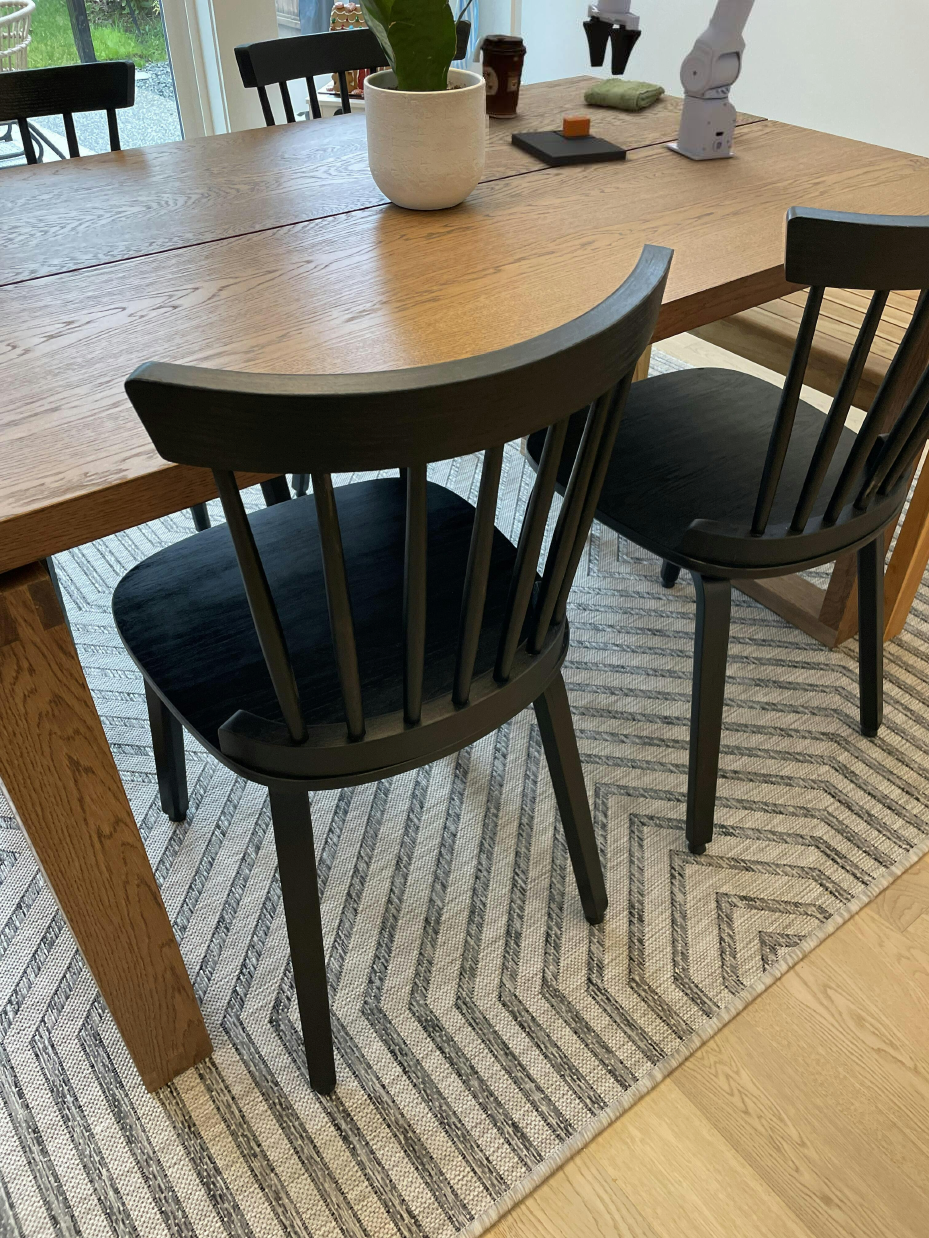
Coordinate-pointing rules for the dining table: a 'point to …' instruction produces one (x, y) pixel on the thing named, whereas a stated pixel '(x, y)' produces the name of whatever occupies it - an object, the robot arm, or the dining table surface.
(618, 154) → the base pad
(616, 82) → the washcloth
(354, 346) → the dining table surface
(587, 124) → the connector pad
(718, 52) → the robot arm
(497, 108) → the coffee cup
